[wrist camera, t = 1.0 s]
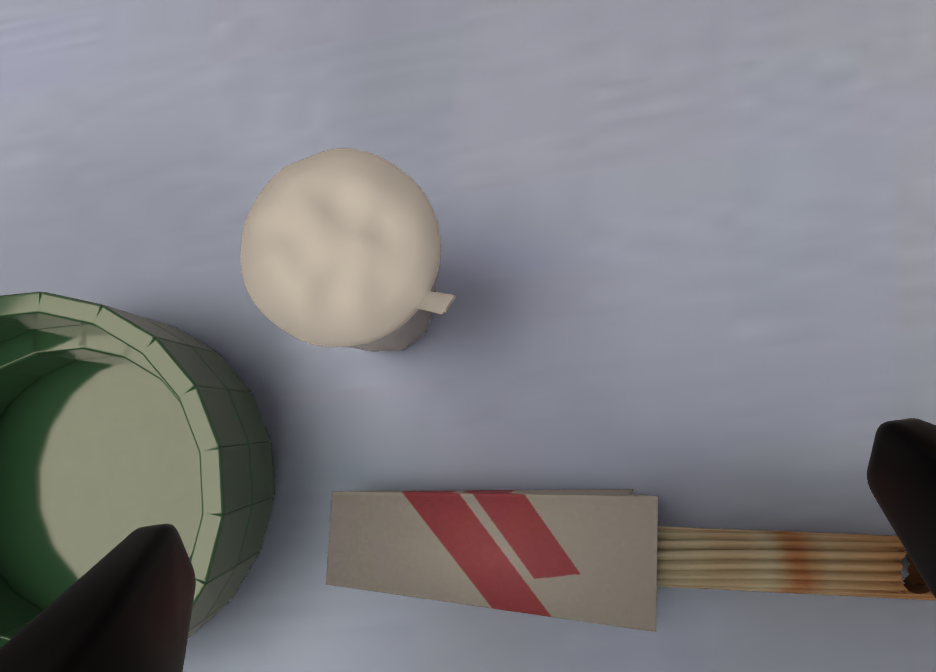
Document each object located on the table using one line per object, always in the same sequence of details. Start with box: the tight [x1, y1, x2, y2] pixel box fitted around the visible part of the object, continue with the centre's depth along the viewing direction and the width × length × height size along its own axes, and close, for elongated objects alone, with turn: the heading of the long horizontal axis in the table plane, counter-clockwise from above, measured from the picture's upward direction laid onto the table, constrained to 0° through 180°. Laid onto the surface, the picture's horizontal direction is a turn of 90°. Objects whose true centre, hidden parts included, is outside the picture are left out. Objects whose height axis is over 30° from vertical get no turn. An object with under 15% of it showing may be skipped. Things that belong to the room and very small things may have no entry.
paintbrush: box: [326, 489, 936, 632], centre depth 21 cm, size 4×3×20 cm
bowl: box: [0, 292, 275, 648], centre depth 20 cm, size 11×11×5 cm
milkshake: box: [241, 148, 456, 352], centre depth 18 cm, size 4×5×10 cm
